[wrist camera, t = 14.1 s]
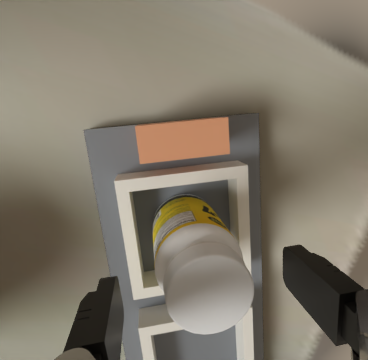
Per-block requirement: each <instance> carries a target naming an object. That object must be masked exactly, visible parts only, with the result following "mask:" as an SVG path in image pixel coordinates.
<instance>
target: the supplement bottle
mask: <svg viewBox="0 0 368 360" xmlns="http://www.w3.org/2000/svg"><path fill="white" fill-rule="evenodd" d="M152 230H153V249H154V267H155V275H156V279H157V282H158V284H159V286H160V288H161V290H162V291H163V292H164V295H165V302H166V307H167V310H168V313H169V315H170V317H171V318H172V319H173V321H174V322H175V323H176V324H177V325H178V326H179V327H181V328H182V329H184V330H186V331H189V332H191V333H195V334H204V335H206V334H215V333H218V332H222V331H224V330H227V329H229V328H230V327H232V326H234V325H235V324H237V323H238V322H239V321H240V320H241V319H242V318H243V317H244V316H245V315H246V313H247V312H248V310H249V308H250V306H251V304H252V301H253V297H254V282H253V279H252V276H251V274H250V272H249V270H248V269H247V267H246V265H245V263H244V261H243V255H242V251H241V249H240V246H239V244H238V242H237V241H236V239H235V238H234V236H233V235H232V234H231V233H230V231H229V230H228V229H227V227H226V226H225V225H224V224H223V222H222V221H221V219H220V218H219V217H218V216H217V214H216V213H215V212H214V210H213V209H212V208H211V207H210V205H209V204H208V203H207V202H206V201H204V200H203V199H201V198H200V197H198V196H195V195H190V194H181V195H176V196H173V197H171V198H169V199H167V200H166V201H165V202H164V203H162V204H161V205H160V207H159V208H158V209H157V211H156V213H155V215H154V218H153V224H152Z"/></svg>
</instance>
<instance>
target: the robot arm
mask: <svg viewBox="0 0 368 360" xmlns="http://www.w3.org/2000/svg"><path fill="white" fill-rule="evenodd" d="M283 279H284V282H285V285H286V287H287V288H288V289H289V291H290V292H291V293H292V294H293V295H294V297H295V298H296V299H297V300H298V301H299V303H300V304H301V305H302V306H303V307H304V308H305V310H306V311H307V312H308V313H309V314H310V316H311V317H312V318H313V319H314V320H315V322H316V323H317V324H318V325H319V326H320V328H321V329H322V330H323V331H324V332H325V333H326V335H327V336H328V337H329V338H330V339H331V340H332V342H333V343H334V344H335V345H336V346H339V345H343V344H347V343H348V344H349V345H350V346H351V360H368V289H364V288H363V287H361V286H360V285H359V284H357V283H356V282H355V281H354V280H352V279H351V278H350V277H348V276H347V275H346V274H345V273H343V272H342V271H340V270H339V269H338V268H337V267H336V266H333V264H332V263H330V262H329V261H328V260H327V259H325V258H324V257H321V256H319V255H317V254H315V253H310V252H309V251H308V250H307V249H305V248H304V247H303V246H302V245H294V246H288V247H284V249H283ZM123 323H124V308H123V301H122V296H121V291H120V285H119V280H118V277H117V276H113V277H107V278H101V279H100V280H99V284H98V287H97V291H95V292H89V293H88V294H87V295H86V296H85V297H84V298H83V300H82V301H81V302H80V305H79V308H78V311H77V314H76V317H75V321H74V322H73V325H72V328H71V331H70V334H69V337H68V340H67V343H66V346H65V349H64V351H63V353H62V354H60V355H59V356H58V357H57V358H55V359H54V360H120V353H121V343H122V333H123Z"/></svg>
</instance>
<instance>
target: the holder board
mask: <svg viewBox="0 0 368 360" xmlns="http://www.w3.org/2000/svg"><path fill="white" fill-rule="evenodd" d="M84 135H85V140H86V146H87V151H88V157H89V162H90V167H91V173H92V178H93V184H94V189H95V194H96V200H97V205H98V211H99V216H100V222H101V227H102V232H103V238H104V243H105V249H106V254H107V259H108V265H109V270H110V276H111V277H113V276H117V277H118V280H119V285H120V291H121V296H122V301H123V308H124V323H123V333H122V341H123V346H124V352H125V357H126V360H264V351H263V301H262V251H261V201H260V151H259V113H251V114H240V115H230V116H219V117H209V118H199V119H188V120H178V121H168V122H157V123H147V124H137V125H126V126H116V127H106V128H95V129H86V130H84ZM181 194H190V195H195V196H198V197H200V198H201V199H203V200H204V201H206V202H207V203H208V204H209V205H210V207H211V208H212V209H213V210H214V212H215V213H216V214H217V216H218V217H219V218H220V219H221V221H222V222H223V224H224V225H225V226H226V227H227V229H228V230H229V231H230V233H231V234H232V235H233V236H234V238H235V239H236V241H237V242H238V244H239V246H240V249H241V251H242V255H243V261H244V263H245V265H246V267H247V269H248V270H249V272H250V274H251V276H252V279H253V282H254V297H253V301H252V304H251V306H250V308H249V310H248V312H247V313H246V315H245V316H244V317H243V318H242V319H241V320H240V321H239V322H238V323H237V324H235V325H234V326H232V327H230V328H229V329H227V330H224V331H222V332H218V333H215V334H206V335H204V334H195V333H191V332H189V331H186V330H184V329H182V328H181V327H179V326H178V325H177V324H176V323H175V322H174V321H173V319H172V318H171V317H170V315H169V313H168V310H167V307H166V302H165V295H164V292H163V291H162V290H161V288H160V286H159V284H158V282H157V279H156V275H155V267H154V249H153V230H152V224H153V218H154V215H155V213H156V211H157V209H158V208H159V207H160V205H161V204H162V203H164V202H165V201H166V200H167V199H169V198H171V197H173V196H176V195H181Z"/></svg>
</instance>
